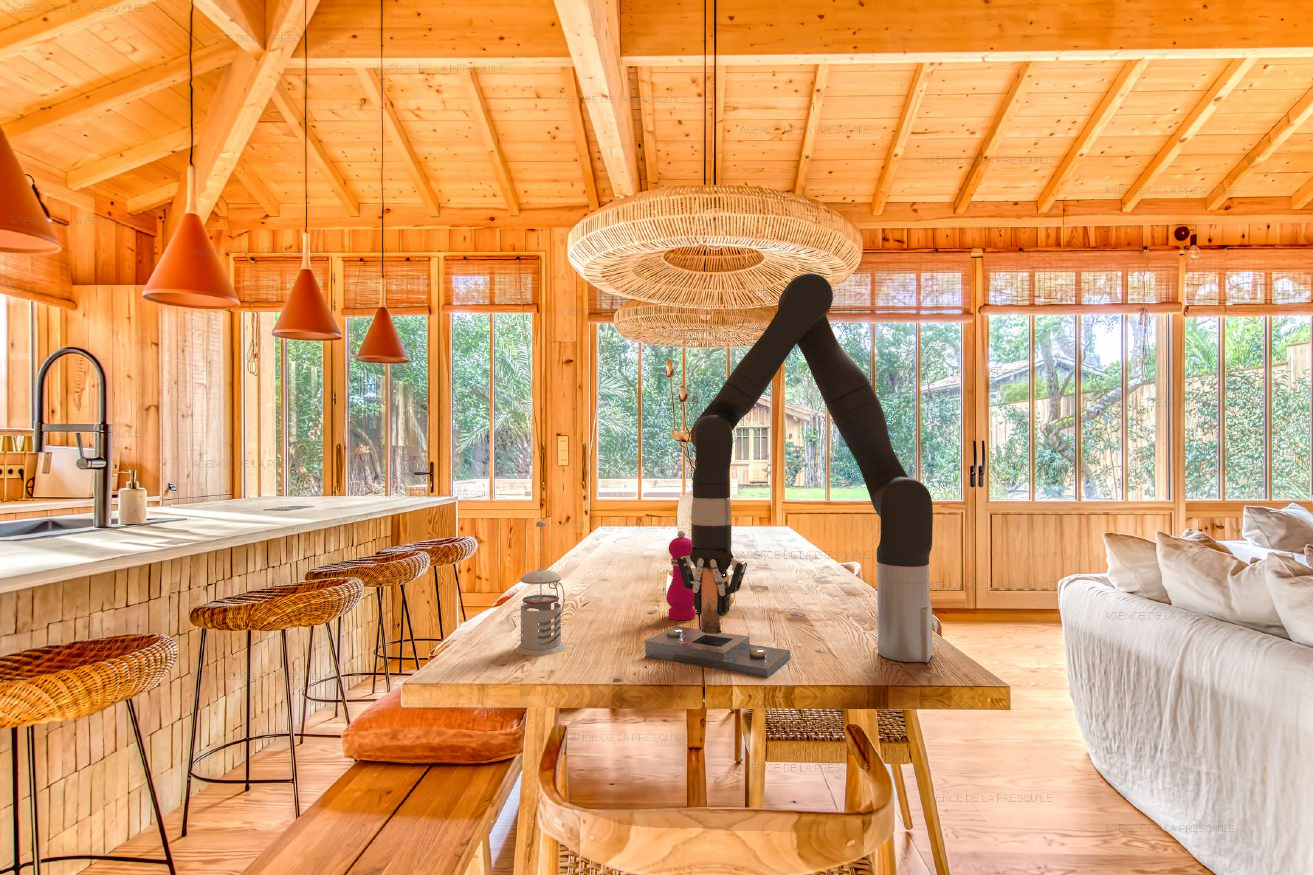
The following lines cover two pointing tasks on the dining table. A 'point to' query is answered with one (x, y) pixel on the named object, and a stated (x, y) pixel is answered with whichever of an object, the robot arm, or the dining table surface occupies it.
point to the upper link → (694, 644)
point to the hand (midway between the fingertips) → (711, 613)
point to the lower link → (743, 660)
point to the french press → (541, 614)
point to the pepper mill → (680, 582)
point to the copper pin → (710, 603)
